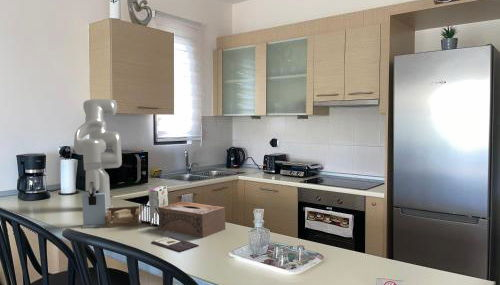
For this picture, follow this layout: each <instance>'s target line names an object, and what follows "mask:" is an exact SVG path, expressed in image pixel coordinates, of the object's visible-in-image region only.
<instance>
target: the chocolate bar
mask: <svg viewBox="0 0 500 285" xmlns="http://www.w3.org/2000/svg"><path fill="white" fill-rule="evenodd" d="M151 244H153V245H156V246H158V247H162V248H164V249H168V250H171V251H175V252H178V253H182V252H185V251H189V250H191V249H195V248H198V247H200V245H199V244H196V243H193V242H190V241H187V240H183V239H181V238H180V239H179V238H176V237H172V236H167V237H163V238H160V239H157V240H152V241H151Z"/></svg>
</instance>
